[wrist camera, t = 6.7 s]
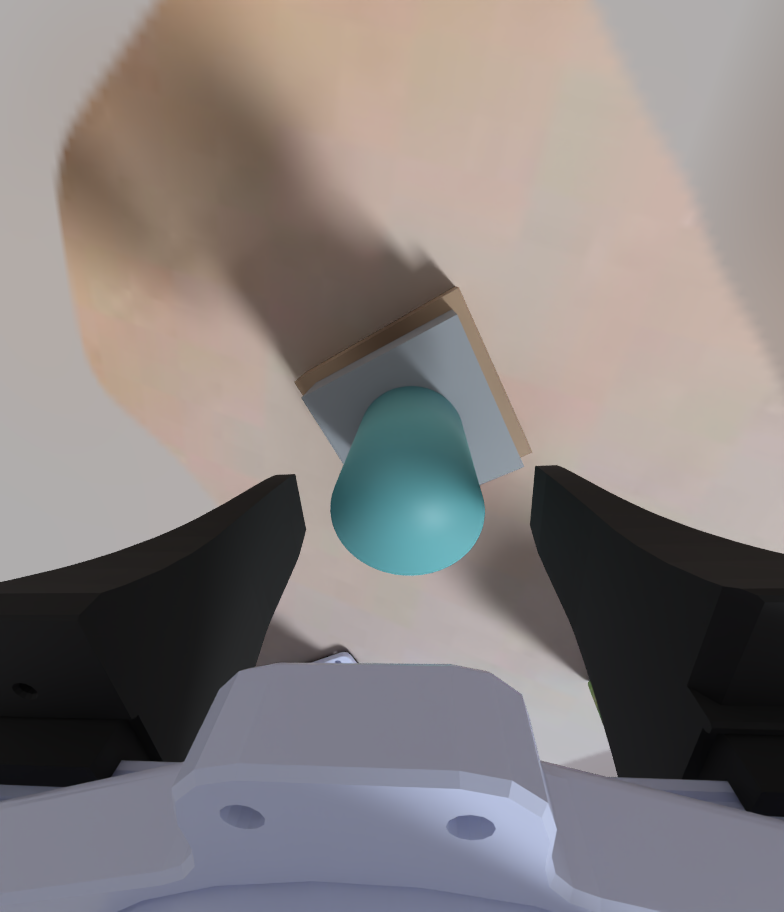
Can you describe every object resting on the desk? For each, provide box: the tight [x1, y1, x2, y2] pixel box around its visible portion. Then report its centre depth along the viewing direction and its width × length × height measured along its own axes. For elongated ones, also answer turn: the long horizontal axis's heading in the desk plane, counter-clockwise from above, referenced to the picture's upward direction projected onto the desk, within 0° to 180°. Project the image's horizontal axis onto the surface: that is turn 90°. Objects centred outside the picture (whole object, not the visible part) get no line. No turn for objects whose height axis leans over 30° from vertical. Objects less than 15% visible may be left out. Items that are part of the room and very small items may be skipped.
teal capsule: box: [330, 386, 485, 575], centre depth 14 cm, size 4×4×6 cm
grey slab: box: [301, 309, 524, 485], centre depth 18 cm, size 7×7×2 cm
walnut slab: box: [295, 287, 532, 458], centre depth 20 cm, size 8×8×2 cm
